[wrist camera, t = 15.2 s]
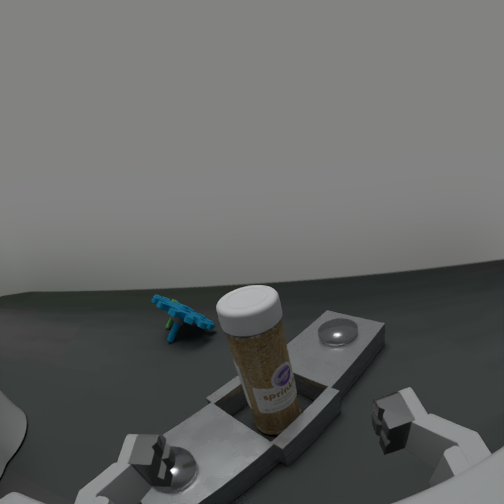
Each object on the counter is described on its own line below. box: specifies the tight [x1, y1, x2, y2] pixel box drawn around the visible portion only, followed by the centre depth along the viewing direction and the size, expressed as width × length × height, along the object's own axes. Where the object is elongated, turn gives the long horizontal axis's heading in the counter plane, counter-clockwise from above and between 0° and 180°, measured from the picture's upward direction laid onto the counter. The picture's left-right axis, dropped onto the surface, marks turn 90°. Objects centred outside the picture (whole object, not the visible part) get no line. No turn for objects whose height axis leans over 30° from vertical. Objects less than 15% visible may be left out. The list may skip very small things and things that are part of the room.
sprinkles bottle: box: [216, 285, 301, 435], centre depth 23 cm, size 5×5×13 cm
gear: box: [151, 295, 214, 343], centre depth 44 cm, size 11×6×10 cm
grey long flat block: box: [141, 311, 385, 504], centre depth 25 cm, size 29×10×4 cm, turn 133°
